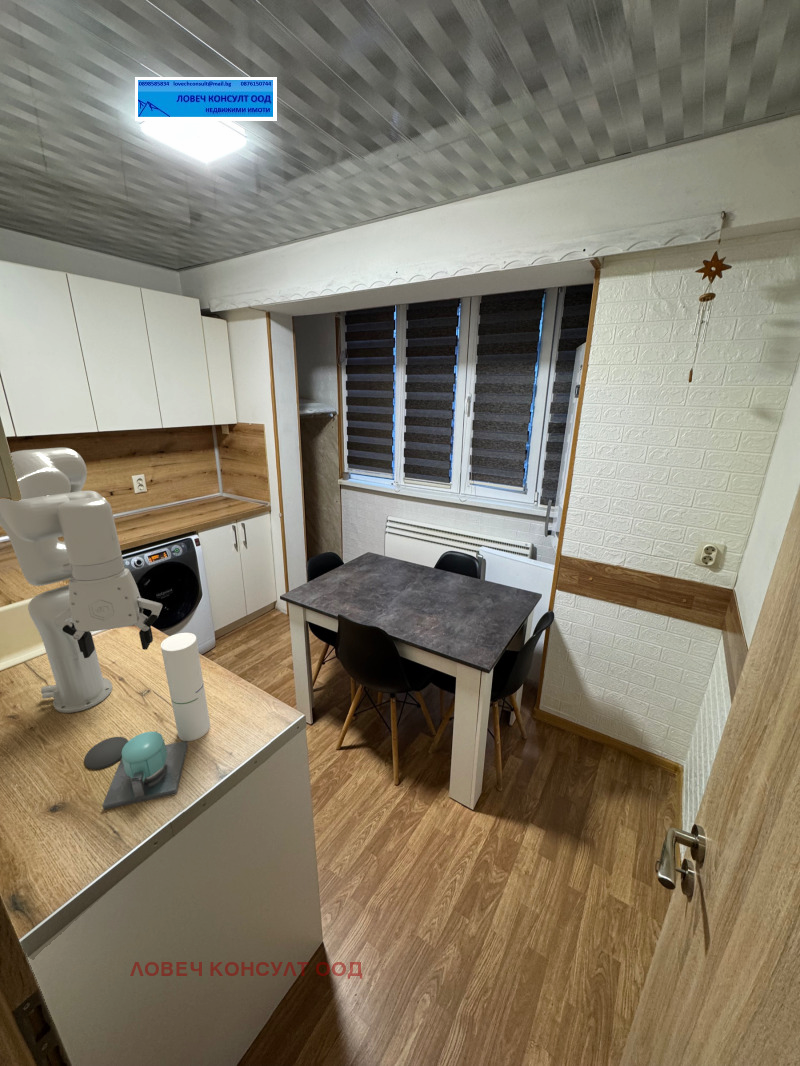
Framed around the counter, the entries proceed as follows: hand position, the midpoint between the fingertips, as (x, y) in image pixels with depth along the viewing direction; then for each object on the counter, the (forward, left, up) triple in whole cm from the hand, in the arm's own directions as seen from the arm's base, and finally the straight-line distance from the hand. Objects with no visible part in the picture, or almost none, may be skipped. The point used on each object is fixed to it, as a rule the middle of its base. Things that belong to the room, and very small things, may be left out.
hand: (119, 649), depth 80 cm
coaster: (-10, +8, -31) cm, 34 cm away
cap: (0, -1, -28) cm, 28 cm away
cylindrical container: (+8, +11, -31) cm, 34 cm away
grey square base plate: (0, -1, -31) cm, 31 cm away
